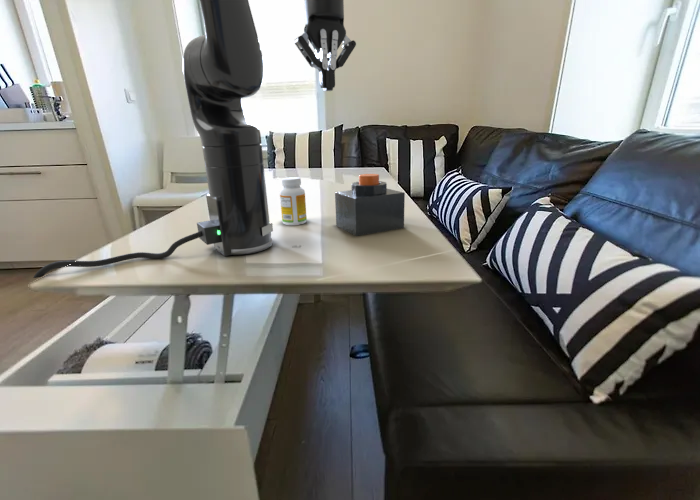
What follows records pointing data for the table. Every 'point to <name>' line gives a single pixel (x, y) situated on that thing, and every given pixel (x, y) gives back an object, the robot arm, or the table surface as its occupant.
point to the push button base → (369, 209)
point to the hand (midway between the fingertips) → (327, 90)
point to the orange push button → (368, 179)
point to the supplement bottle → (293, 202)
